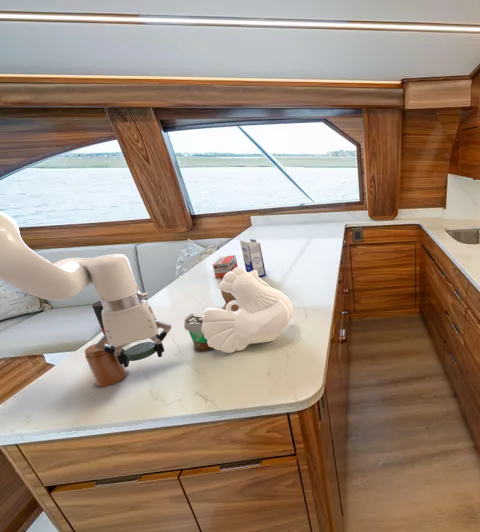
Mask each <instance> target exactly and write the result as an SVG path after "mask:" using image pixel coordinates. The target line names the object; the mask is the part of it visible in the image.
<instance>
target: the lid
mask: <svg viewBox="0 0 480 532" xmlns="http://www.w3.org/2000/svg"><path fill="white" fill-rule="evenodd" d="M155 353H157V352H156V349H155V342H154V341H145V342H140V343H137V344H134V345H132V346H130V347H128V348H127V349H125V352H124V355H125V358H126V360H127V361H129V362H135V361H136V362H137V361H140V360H144V359H147V358H149V357H150V356H153V355H154V354H155Z"/></svg>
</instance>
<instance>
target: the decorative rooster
mask: <svg viewBox="0 0 480 532" xmlns="http://www.w3.org/2000/svg"><path fill="white" fill-rule="evenodd" d="M222 279H223V281H222V280H221V281H222V282H221V281H220V282H219V285H218V286H219V289H220V291H221V290H222V291H224V292H228V293H231V294H232V295H233V296H234V298H235V299H236V300H233V301H231V302H229V303H228V304H227V306H226V310H224V309H222V308H220V307H207V308H205V310H204V311H203V315H202V316H201V317H202V320H203V324H202V328H201V331H202V333H203V334H204V337H205V339H207V344H208V346H209V347H212V348H214V349H213V350H216V351H220V352H224V353H226V354H232V353H234V352H235V351H244V350H245V349H246V348H248V346H249V345H250V344H262V343H267V342H272V341H276V339H277V338H278V337H279V336H280V335H281V334H282V333H283V331H284V330H285V328H286V327H287V326H288V324H289V323H290V322H291V320H292V319H293V316H294V315H293V314H294V308H293V304H292V301H291V300H290V298H289V297H288V296H287V295H286V294H284V293H283V291H281V290H279V289H277V288H274V287H272V286H270V285H269V283H267V282H266V281H264V280H263V278H262V277H258V273H257V270H253V271H251V272H246V269H244V268H243V267H241V266H238V267H236V268H234V269H233V271H230V272H228V273H226V274H225V275H224V277H222ZM234 304H236V305H238V306H239V309H238V310H237V311H232V310H231V306H232V305H234Z"/></svg>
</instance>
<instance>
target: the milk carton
mask: <svg viewBox="0 0 480 532" xmlns="http://www.w3.org/2000/svg"><path fill="white" fill-rule="evenodd" d="M239 243H240V247H241V253H242V257H243V258H242V259H243V262H244V267H245V271H246V272H251V271H253V270H257V273H258V277H260V278H263V277H266V276H267V273H266V268H265V263H264V258H263V257H264V256H263V252H262V246H261V242H258V241H257V239H253V238H251V239H249V240H245V239H243V240H239Z"/></svg>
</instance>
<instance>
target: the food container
mask: <svg viewBox="0 0 480 532" xmlns="http://www.w3.org/2000/svg"><path fill="white" fill-rule="evenodd" d="M202 324H203V320H202V316H197V315H196V316H195V315H194V313H191V314H189V315H187V316H186V318H185V319H184V322H183V327H184V329H185V330H186V331H188V333H189V336H190V338H191V340H192V341H191V342H192V343H193V345H194V348H195V350H196V351H199V352H208V351H212V350H215V349H214V348H212V347H209V346H208V344H207V339H205V337H204V334H203V333H202V331H201V328H202Z"/></svg>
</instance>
